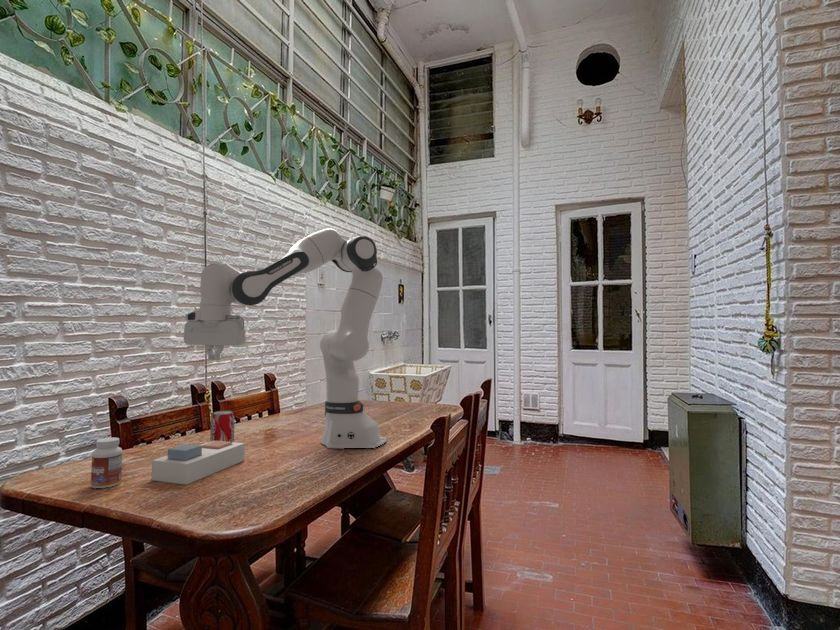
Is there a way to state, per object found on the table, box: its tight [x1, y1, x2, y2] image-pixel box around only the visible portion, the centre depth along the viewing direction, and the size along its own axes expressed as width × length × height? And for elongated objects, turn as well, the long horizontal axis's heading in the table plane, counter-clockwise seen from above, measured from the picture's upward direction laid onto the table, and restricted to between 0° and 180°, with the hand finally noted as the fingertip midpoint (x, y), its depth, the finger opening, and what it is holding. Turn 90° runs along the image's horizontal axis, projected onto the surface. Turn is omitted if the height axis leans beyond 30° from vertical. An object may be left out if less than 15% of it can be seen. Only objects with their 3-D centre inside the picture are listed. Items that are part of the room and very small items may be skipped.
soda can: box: [209, 410, 235, 442], centre depth 143 cm, size 7×7×12 cm
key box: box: [150, 441, 246, 485], centre depth 123 cm, size 11×22×5 cm, turn 164°
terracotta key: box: [202, 441, 232, 449], centre depth 128 cm, size 6×6×4 cm
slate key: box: [167, 443, 202, 461], centre depth 117 cm, size 6×6×4 cm
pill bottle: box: [90, 437, 123, 489], centre depth 110 cm, size 6×6×11 cm
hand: (214, 360), depth 137 cm, fingers closed
